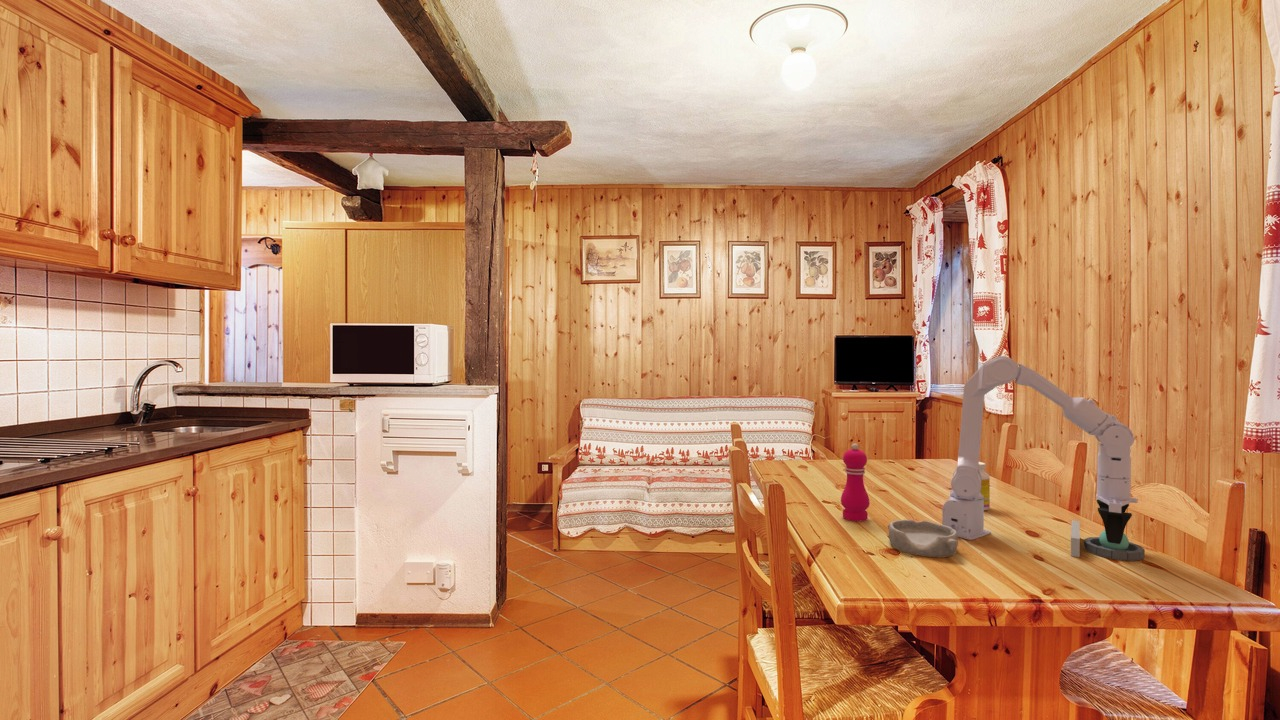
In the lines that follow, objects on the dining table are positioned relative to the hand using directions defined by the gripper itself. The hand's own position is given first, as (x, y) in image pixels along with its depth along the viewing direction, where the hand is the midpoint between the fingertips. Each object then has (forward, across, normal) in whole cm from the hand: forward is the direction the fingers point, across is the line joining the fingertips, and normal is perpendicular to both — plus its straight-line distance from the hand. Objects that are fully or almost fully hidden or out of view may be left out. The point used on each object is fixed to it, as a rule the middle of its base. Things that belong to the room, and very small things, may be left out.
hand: (1113, 538), depth 126 cm
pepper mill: (+4, -6, +54) cm, 54 cm away
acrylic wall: (+3, 0, +7) cm, 7 cm away
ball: (0, -1, 0) cm, 1 cm away
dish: (+4, -21, +34) cm, 40 cm away
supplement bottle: (+4, +23, +29) cm, 37 cm away
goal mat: (+3, 0, 0) cm, 3 cm away
